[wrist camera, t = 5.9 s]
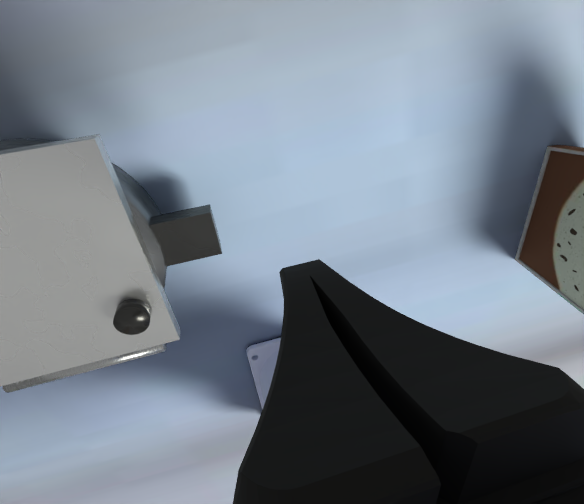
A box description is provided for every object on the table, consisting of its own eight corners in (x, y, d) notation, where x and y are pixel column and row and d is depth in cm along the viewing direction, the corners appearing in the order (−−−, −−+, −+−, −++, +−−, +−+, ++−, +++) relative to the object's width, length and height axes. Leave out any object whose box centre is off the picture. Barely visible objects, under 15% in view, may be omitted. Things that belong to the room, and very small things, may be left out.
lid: (184, 339, 20) (183, 360, 18) (-5, 388, 18) (-21, 415, 17) (99, 134, 13) (89, 144, 12) (-202, 184, 12) (-252, 202, 10)
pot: (237, 300, 23) (242, 331, 20) (-32, 367, 21) (-64, 412, 18) (186, 110, 16) (185, 121, 14) (-216, 175, 14) (-308, 204, 11)
